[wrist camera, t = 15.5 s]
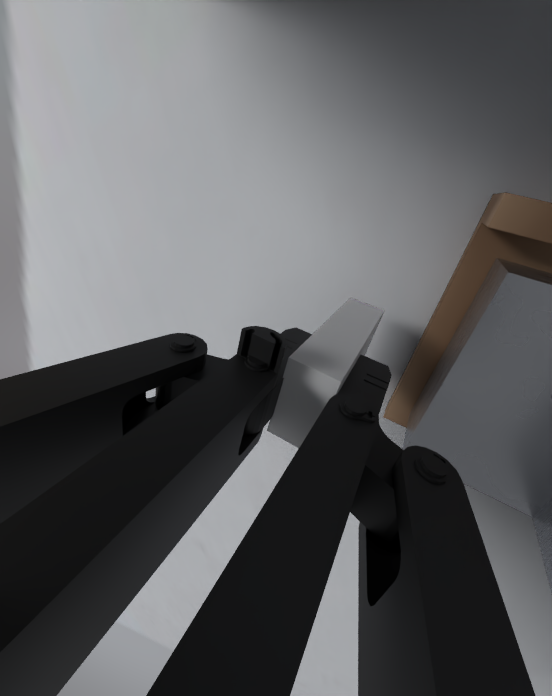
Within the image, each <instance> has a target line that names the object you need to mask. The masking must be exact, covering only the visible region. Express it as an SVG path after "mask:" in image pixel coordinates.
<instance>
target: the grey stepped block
mask: <svg viewBox="0 0 552 696" xmlns="http://www.w3.org/2000/svg"><path fill="white" fill-rule="evenodd" d="M415 445H416V446H421V447H426V448H428V449H430V450H433V451H435V452H437V453H438V454H440V455H441V456H443V457H444V458H445V459H447V460H448V461H449V462H450V463H451V464H452V465H453V467H454V468H455V469H456V470H457V472H458V473H459V475H460V477H461V479H462V481H463V483H464V484H466V485H468V486H470V487H472V488H474V489H476V490H478V491H480V492H482V493H484V494H486V495H488V496H490V497H492V498H494V499H496V500H498V501H500V502H502V503H505V504H507V505H509V506H511V507H513V508H515V509H517V510H519V511H521V512H523V513H525V514H527V515H529V516H531V517H532V518H533V522H534V526H535V530H536V534H537V538H538V542H539V546H540V550H541V554H542V557H543V561H544V565H545V569H546V573H547V577H548V581H549V585H550V589H551V593H552V273H549V272H545V271H542V270H538V269H535V268H531V267H528V266H524V265H521V264H517V263H514V262H510V261H507V260H503V259H500V258H496V260H495V261H494V263H493V265H492V267H491V269H490V270H489V272H488V274H487V276H486V278H485V279H484V281H483V283H482V285H481V287H480V288H479V290H478V292H477V294H476V296H475V297H474V299H473V301H472V303H471V305H470V306H469V308H468V310H467V312H466V314H465V315H464V317H463V319H462V321H461V322H460V324H459V326H458V328H457V330H456V331H455V333H454V335H453V337H452V339H451V340H450V342H449V344H448V346H447V348H446V349H445V351H444V353H443V355H442V357H441V358H440V360H439V362H438V364H437V366H436V367H435V369H434V371H433V373H432V375H431V376H430V378H429V380H428V382H427V383H426V385H425V387H424V389H423V391H422V392H421V394H420V396H419V398H418V400H417V401H416V403H415V405H414V407H413V409H412V410H411V412H410V414H409V418H408V423H407V428H406V433H405V438H404V444H403V450H405V449H406V448H407V447H409V446H415Z"/></svg>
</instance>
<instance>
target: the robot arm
mask: <svg viewBox="0 0 552 696" xmlns="http://www.w3.org/2000/svg"><path fill="white" fill-rule="evenodd" d="M383 312H384V310H382V309H380V308H377V307H374V306H372V305H369V304H366V303H364V302H361V301H359V300H356V299H353V298H350V299H349V300H348V301H347V302H346V303H345V304H344V305H343V306H342V307H340V308H339V309H338V310H337V311H336V312H335V313H334V314H333V315H332V316H331V317H330V318H329V319H328V320H327V321H326V322H325V323H324V324H323V325H322V326H321V327H320V328H319V329H318V330H317V331H316V332H314V333H313V334H310V333H307V332H305V331H303V330H301V329H298V328H292V329H288V330H285V331H284V332H282V333H281V334H279V333H278V332H276V331H274V330H272V329H269V328H266V327H259V326H250V327H246V328H243V329H242V331H241V336H240V341H239V346H238V351H237V354H236V355H235V356H234V357H232V358H231V359H229V360H227V359H222V358H218V357H214V356H211V355H207V344H206V343H205V342H204V341H203V339H201V338H199V337H197V336H194V335H192V334H191V335H190V334H187V333H175V334H169V335H165V336H161V337H158V338H154V339H150V340H146V341H143V342H139V343H135V344H131V345H128V346H124V347H120V348H116V349H113V350H109V351H105V352H101V353H98V354H94V355H90V356H86V357H83V358H79V359H75V360H72V361H68V362H64V363H60V364H57V365H53V366H49V367H45V368H42V369H38V370H34V371H30V372H27V373H23V374H19V375H15V376H12V377H8V378H4V379H1V380H0V696H56V695H57V694H58V693H59V692H60V690H61V689H62V688H63V687H64V685H65V684H66V683H67V682H68V680H69V679H70V678H71V677H72V675H73V674H74V673H75V671H76V670H77V669H78V668H79V667H80V665H81V664H82V663H83V661H84V660H85V659H86V658H87V656H88V655H89V654H90V653H91V651H92V650H93V649H94V648H95V646H96V645H97V644H98V643H99V641H100V640H101V639H102V638H103V636H104V635H105V634H106V633H107V631H108V630H109V628H110V627H111V626H112V625H113V624H114V622H115V621H116V620H117V619H118V617H119V616H120V615H121V614H122V612H123V611H124V610H125V609H126V607H127V606H128V605H129V604H130V602H131V601H132V600H133V599H134V597H135V596H136V595H137V594H138V592H139V591H140V590H141V589H142V587H143V586H144V585H145V583H146V582H147V581H148V580H149V578H150V577H151V576H152V575H153V573H154V572H155V571H156V570H157V568H158V567H159V566H160V565H161V563H162V562H163V561H164V560H165V558H166V557H167V556H168V555H169V553H170V552H171V551H172V550H173V548H174V547H175V546H176V544H177V543H178V542H179V541H180V539H181V538H182V537H183V536H184V534H185V533H186V532H187V531H188V529H189V528H190V527H191V526H192V524H193V523H194V522H195V521H196V519H197V518H198V517H199V516H200V514H201V513H202V512H203V511H204V509H205V508H206V507H207V505H208V504H209V503H210V502H211V500H212V499H213V498H214V497H215V495H216V494H217V493H218V492H219V490H220V489H221V488H222V487H223V485H224V484H225V483H226V482H227V480H228V479H229V478H230V477H231V475H232V474H233V473H234V471H235V470H236V469H237V468H238V466H239V465H240V464H241V463H242V461H243V460H244V459H245V458H246V456H247V455H248V454H249V453H250V451H251V450H252V449H253V448H254V446H255V445H256V444H257V443H258V441H259V439H260V437H261V434H262V430H263V427H264V426H265V425H266V424H267V422H268V421H269V420H270V422H269V426H268V429H267V431H269V432H271V433H272V434H274V435H276V436H278V437H280V438H282V439H283V440H285V441H287V442H289V443H291V444H292V445H294V446H296V447H298V448H299V449H298V451H297V452H296V454H295V456H294V457H293V459H292V461H291V462H290V464H289V465H288V467H287V469H286V470H285V472H284V474H283V475H282V477H281V478H280V480H279V482H278V483H277V485H276V486H275V488H274V490H273V491H272V493H271V495H270V496H269V498H268V499H267V501H266V503H265V504H264V506H263V507H262V509H261V511H260V512H259V514H258V516H257V517H256V519H255V520H254V522H253V524H252V525H251V527H250V529H249V530H248V532H247V533H246V535H245V537H244V538H243V540H242V541H241V543H240V545H239V546H238V548H237V550H236V551H235V553H234V554H233V556H232V558H231V559H230V561H229V563H228V564H227V566H226V567H225V569H224V571H223V572H222V574H221V575H220V577H219V579H218V580H217V582H216V584H215V585H214V587H213V588H212V590H211V592H210V593H209V595H208V597H207V598H206V600H205V601H204V603H203V605H202V606H201V608H200V609H199V611H198V613H197V614H196V616H195V618H194V619H193V621H192V622H191V624H190V626H189V627H188V629H187V631H186V632H185V634H184V635H183V637H182V639H181V640H180V642H179V643H178V645H177V647H176V648H175V650H174V652H173V653H172V655H171V656H170V658H169V660H168V661H167V663H166V665H165V666H164V668H163V670H162V671H161V673H160V674H159V676H158V677H157V679H156V681H155V682H154V684H153V686H152V687H151V689H150V690H149V692H148V694H147V695H146V696H290V694H291V691H292V688H293V684H294V681H295V678H296V675H297V672H298V669H299V666H300V663H301V660H302V657H303V654H304V651H305V648H306V645H307V642H308V638H309V635H310V632H311V629H312V626H313V623H314V620H315V617H316V614H317V611H318V608H319V605H320V602H321V599H322V596H323V593H324V589H325V586H326V583H327V580H328V577H329V574H330V571H331V568H332V565H333V562H334V559H335V556H336V553H337V550H338V547H339V543H340V540H341V537H342V534H343V531H344V528H345V525H346V522H347V519H348V516H349V513H350V512H351V513H352V514H353V515H354V516H355V517H356V518H357V519H358V520H359V521H360V524H359V622H358V696H535V693H534V690H533V687H532V684H531V681H530V678H529V675H528V672H527V669H526V667H525V664H524V661H523V658H522V655H521V652H520V649H519V646H518V643H517V640H516V637H515V634H514V631H513V628H512V625H511V622H510V620H509V617H508V614H507V611H506V608H505V605H504V602H503V599H502V596H501V593H500V590H499V587H498V584H497V581H496V578H495V575H494V572H493V570H492V567H491V564H490V561H489V558H488V555H487V552H486V549H485V546H484V543H483V540H482V537H481V534H480V531H479V528H478V525H477V522H476V520H475V517H474V514H473V511H472V508H471V505H470V502H469V499H468V496H467V493H466V490H465V487H464V484H463V481H462V479H461V477H460V475H459V473H458V472H457V470H456V469H455V468H454V467H453V465H452V464H451V463H450V462H449V461H448V460H447V459H445V458H444V457H443V456H441V455H440V454H438V453H437V452H435V451H433V450H430V449H428V448H426V447H421V446H416V445H415V446H409V447H407V448H406V449H405V450H403V449H401V448H400V447H399V446H397V445H396V444H395V443H394V442H392V441H391V440H390V439H389V438H388V437H387V436H386V435H385V433H384V432H383V431H382V429H381V427H380V426H379V416H378V415H379V412H380V409H381V406H382V403H383V400H384V397H385V394H386V391H387V388H388V385H389V382H390V379H391V376H392V375H391V372H390V370H389V367H388V366H386V365H384V364H382V363H379V362H377V361H375V360H373V359H370V358H368V357H366V356H365V354H366V351H367V349H368V347H369V344H370V342H371V340H372V338H373V335H374V333H375V331H376V328H377V326H378V324H379V322H380V319H381V317H382V315H383ZM154 388H156V396H155V397H152V398H146V391H149V390H151V389H154Z"/></svg>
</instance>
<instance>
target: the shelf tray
mask: <svg viewBox="0 0 552 696" xmlns="http://www.w3.org/2000/svg"><path fill="white" fill-rule="evenodd" d="M496 258H500V259H503V260H507V261H510V262H514V263H517V264H521V265H524V266H528V267H531V268H535V269H538V270H542V271H545V272H549V273H552V203H550V202H545V201H541V200H537V199H532V198H528V197H523V196H519V195H514V194H510V193H498V194H493V196H492V198H491V200H490V202H489V204H488V206H487V208H486V210H485V212H484V214H483V216H482V218H481V220H480V222H479V224H478V226H477V228H476V230H475V232H474V234H473V236H472V238H471V240H470V241H469V243H468V245H467V247H466V249H465V251H464V253H463V255H462V257H461V259H460V261H459V263H458V265H457V267H456V269H455V271H454V273H453V275H452V277H451V279H450V281H449V283H448V285H447V287H446V289H445V291H444V293H443V295H442V297H441V299H440V301H439V303H438V305H437V307H436V309H435V311H434V313H433V315H432V317H431V319H430V321H429V323H428V325H427V327H426V329H425V331H424V333H423V335H422V337H421V339H420V341H419V343H418V345H417V347H416V349H415V351H414V353H413V355H412V357H411V359H410V361H409V363H408V365H407V367H406V369H405V371H404V373H403V375H402V377H401V379H400V381H399V383H398V385H397V387H396V389H395V391H394V393H393V395H392V397H391V399H390V401H389V403H388V405H387V407H386V410H385V413H384V416H383V417H384V418H387V419H389V420H391V421H393V422H395V423H397V424H399V425H402V426H404V427H406V428H407V423H408V418H409V414H410V412H411V410H412V409H413V407H414V405H415V403H416V401H417V400H418V398H419V396H420V394H421V392H422V391H423V389H424V387H425V385H426V383H427V382H428V380H429V378H430V376H431V375H432V373H433V371H434V369H435V367H436V366H437V364H438V362H439V360H440V358H441V357H442V355H443V353H444V351H445V349H446V348H447V346H448V344H449V342H450V340H451V339H452V337H453V335H454V333H455V331H456V330H457V328H458V326H459V324H460V322H461V321H462V319H463V317H464V315H465V314H466V312H467V310H468V308H469V306H470V305H471V303H472V301H473V299H474V297H475V296H476V294H477V292H478V290H479V288H480V287H481V285H482V283H483V281H484V279H485V278H486V276H487V274H488V272H489V270H490V269H491V267H492V265H493V263H494V261H495V260H496Z"/></svg>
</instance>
